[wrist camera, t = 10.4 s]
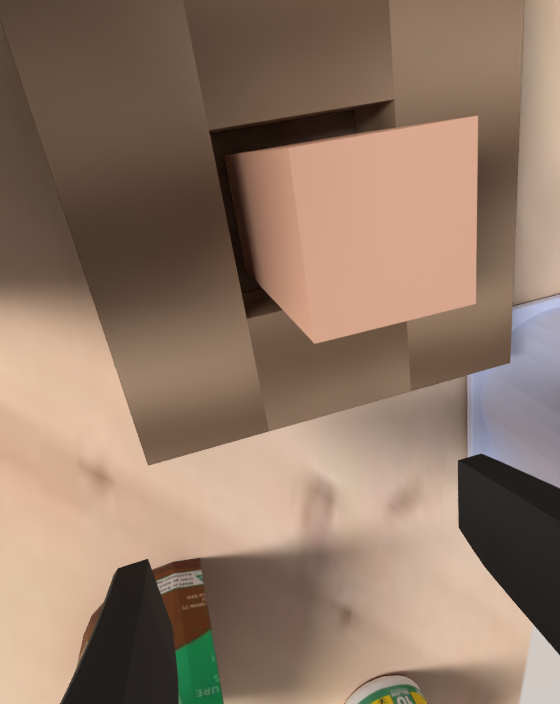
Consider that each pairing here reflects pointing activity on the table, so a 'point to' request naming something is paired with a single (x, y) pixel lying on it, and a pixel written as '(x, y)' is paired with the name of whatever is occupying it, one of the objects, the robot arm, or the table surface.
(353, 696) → the supplement bottle
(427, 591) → the table surface
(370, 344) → the walnut stand board
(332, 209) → the terracotta peg
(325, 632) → the table surface
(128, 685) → the robot arm
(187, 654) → the food container
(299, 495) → the table surface
